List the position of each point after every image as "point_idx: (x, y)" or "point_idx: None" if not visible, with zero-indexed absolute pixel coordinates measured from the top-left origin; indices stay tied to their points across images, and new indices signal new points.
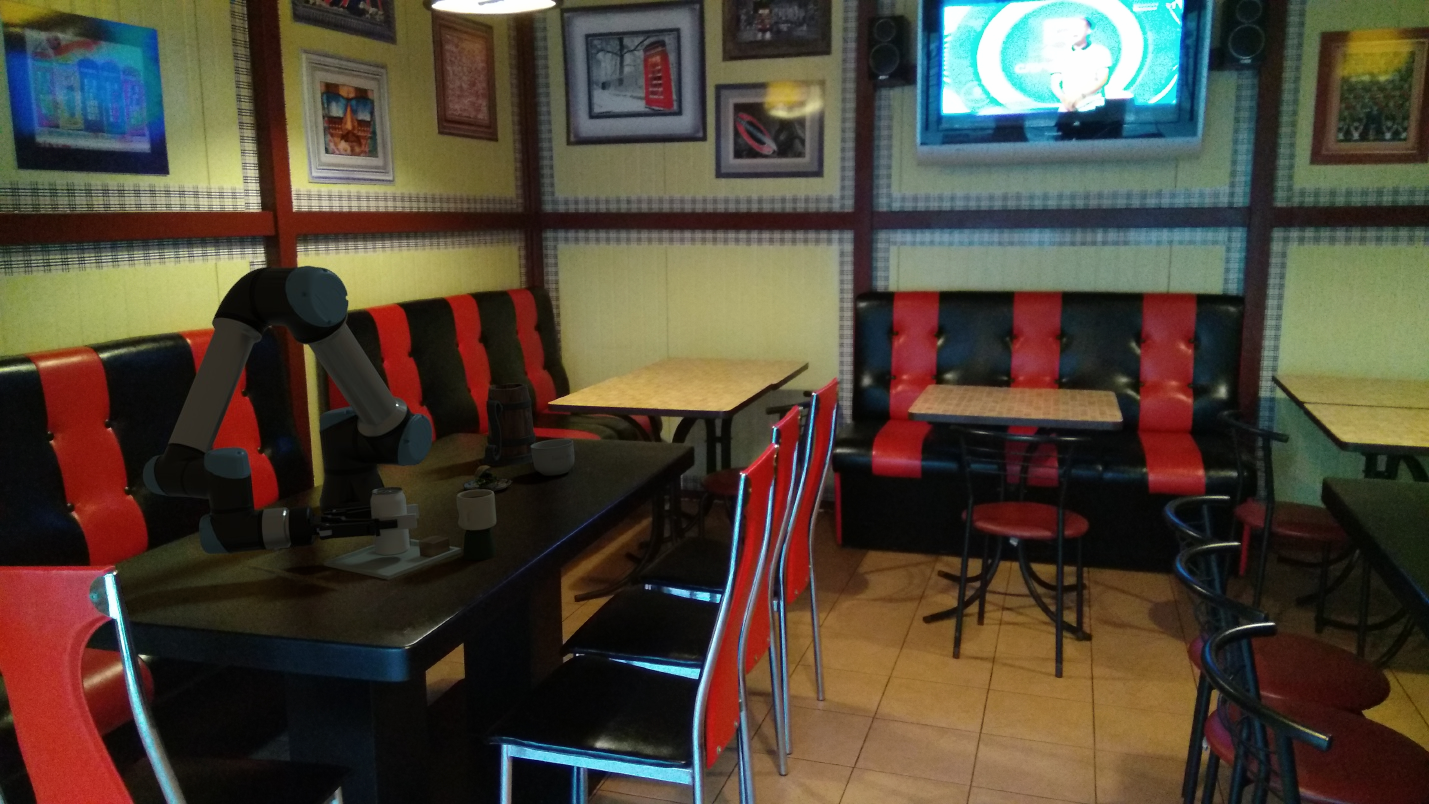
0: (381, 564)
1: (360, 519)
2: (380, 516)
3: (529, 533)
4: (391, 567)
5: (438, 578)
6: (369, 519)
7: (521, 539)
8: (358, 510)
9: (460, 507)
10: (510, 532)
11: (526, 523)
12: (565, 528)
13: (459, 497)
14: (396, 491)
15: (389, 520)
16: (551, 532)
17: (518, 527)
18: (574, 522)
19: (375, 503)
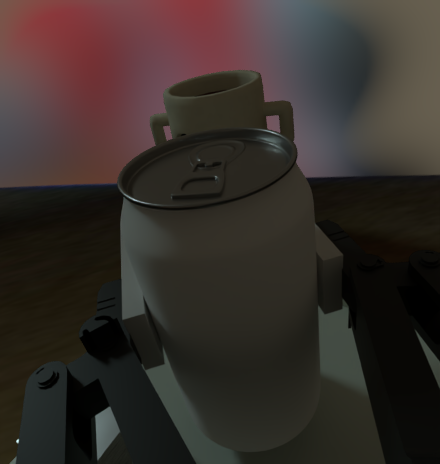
0: (330, 421)
1: (394, 334)
2: (323, 259)
3: (83, 222)
4: (357, 371)
5: (379, 254)
6: (377, 290)
7: (118, 221)
8: (149, 454)
9: (255, 112)
10: (59, 246)
11: (8, 243)
12: (78, 195)
13: (245, 85)
14: (199, 151)
15: (330, 240)
16: (93, 201)
17: (29, 245)
18: (49, 195)
19: (308, 218)
